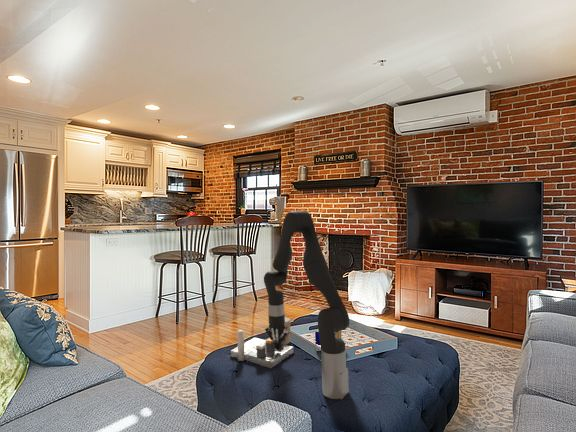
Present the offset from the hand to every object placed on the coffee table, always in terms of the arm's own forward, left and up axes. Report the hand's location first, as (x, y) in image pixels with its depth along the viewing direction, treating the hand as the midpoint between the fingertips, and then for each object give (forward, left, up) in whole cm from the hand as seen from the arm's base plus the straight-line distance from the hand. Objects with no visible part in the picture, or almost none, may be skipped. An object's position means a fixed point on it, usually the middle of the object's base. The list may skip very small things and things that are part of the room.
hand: (277, 349), depth 172 cm
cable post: (+14, +10, -5) cm, 18 cm away
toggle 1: (+4, +7, -1) cm, 8 cm away
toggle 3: (+4, -7, -1) cm, 8 cm away
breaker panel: (+9, 0, -5) cm, 10 cm away
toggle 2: (+4, 0, -1) cm, 4 cm away
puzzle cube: (-16, -21, -5) cm, 27 cm away
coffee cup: (+9, -17, -5) cm, 20 cm away
